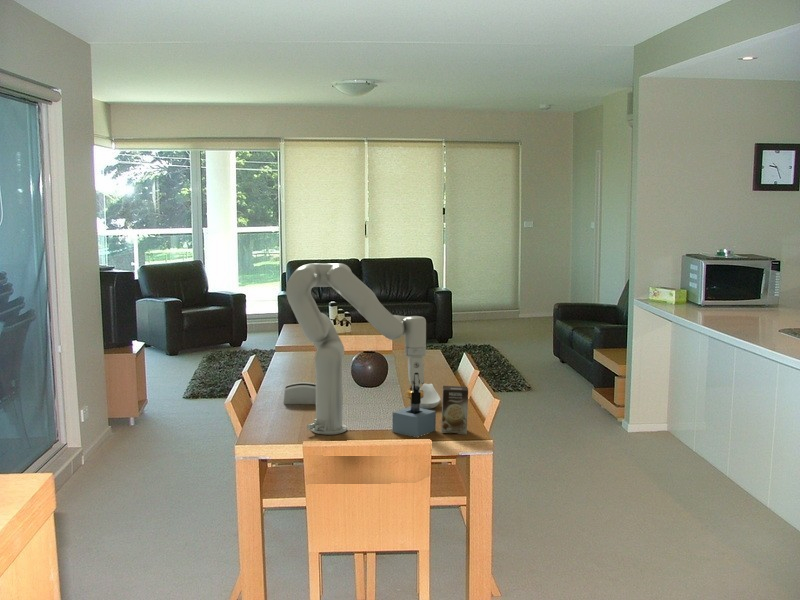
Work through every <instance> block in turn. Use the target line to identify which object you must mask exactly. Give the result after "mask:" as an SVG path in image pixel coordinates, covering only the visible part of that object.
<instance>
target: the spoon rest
mask: <svg viewBox="0 0 800 600" xmlns="http://www.w3.org/2000/svg"><path fill="white" fill-rule="evenodd" d="M420 390H423V391H424V397H423V398H421V403H420V408H423V409H427V410H432V409H433V408H434V409H435V408H436V407H437V406H439V404H440V402H441V395H440V394H439V393H438V392H437V390H436V389H435V387H434V385H433V383H425V382H424V384H423V385H422V386H420Z"/></svg>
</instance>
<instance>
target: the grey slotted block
mask: <svg viewBox="0 0 800 600" xmlns="http://www.w3.org/2000/svg"><path fill="white" fill-rule="evenodd" d="M283 395H284V396H283V405H316V382H315V383H314V382H307V381H304V382H303V381H301V382H293V383H289V384H287V385H286V386H285V387H284V394H283Z"/></svg>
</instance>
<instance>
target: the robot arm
mask: <svg viewBox="0 0 800 600" xmlns="http://www.w3.org/2000/svg"><path fill="white" fill-rule="evenodd" d="M319 287H320V288H327V287H329V288H332V289H333V290H334V291H335V292H336V293H337V294H339V295H340V296H341V297H342V298H343V299H344V300H346V301H347V302H348V303H349V304H350V305H351V307H353V308H354V309H355V310H356V311H357V312H358V313H359V314H360V315H361V316H362V317H363V318H364V319H365V320H366V321H367V322H368V323H369V324H370V325H371V326H373V328H374V329H375V330H377V331H378V332H379V333H380V334H381V335H382V336H384V337H385V338H386V339H387V340H391V341H396V340H399V339H400V338H401V337H403V335H404V356H405V357H407V373H408V374H407V375H408V376H407V377H408V381H409V386H410V387H409V390H412V392H411V399H410V404H411V403H412V404H420V403H421V392H420V388H421V385H422V386H423V385H424V384H425V380H424V379H425V373H424V371H425V370H424V369H425V368H424V367H425V366H424V364H425V362H424V357H427V320H426V318H425V317H424V316H419V315H410V316H405V315H398V314H392V313H391V312H390V311H389V310H388V309H387V308H386V307H385V306H384V305H383V304H382V303H381V302H380V301H379V299H378V297H377V296H376V294H375V292H373V290H372V289H371V288H370V287H368V285H366V284H364V282H363V281H362V280H361V279H359V277H357V276H356V275H355V274H354V273H353V272H352V269H351V268H350V267H349V265H347V264H345V263H307V264H303V265H301V266H299V267H297V268H296V269H295V270H294V271H293V272H292V274H291V276H290V277H289V279H288V280H287V284H286V289H285V290H286V291H285V292H286V293H285V294H286V299H287V301H288V304H289V306H290V308H291V310H292V312H293V314H294V317H295V319H296V321H297V323H298V325H299V327H300V329H301V331H302V333H303V335H304V337H305V339H307V340H308V341H309V342H311V343H312V344H313V345H314V347H315V349H316V352H315V354H314V355H315V356H314V373H315V384H316V404H315V418H314V419H313V422H312V423H309V424H307V425H306V429H307V430H308V431H310V430H311V431H312V433H315V434H318V435H325V436H327V435H329V436H330V435H331V436H332V435H339V434H342V433H345V432H346V431H347V430H348V426H347V425H346V424H344V423H343V360H344V357H345V353H346V352H345V347H344V344H343V342H342V340H341V338H340V336H339V333H338V332H337V330H336V327H335V326H334V324H333V322H332V320H331V319H330V317H329V316H328V315H327V314H325V313H323V312H321V311H320V309H319V307H318V304H317V303H316V300H315V298H314V297H313V295H312V292H311V291H312V289H313V288H319Z"/></svg>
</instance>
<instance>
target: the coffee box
mask: <svg viewBox="0 0 800 600" xmlns="http://www.w3.org/2000/svg"><path fill="white" fill-rule="evenodd" d="M441 405H442V406H441V422H440V423H441V425H440V426H441V428H440V431H441V434H443V433H458V434H457V435H467V434H468V409H469V407H468V406H469V388H468V386H460V385H459V386H458V385H442V402H441Z"/></svg>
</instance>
